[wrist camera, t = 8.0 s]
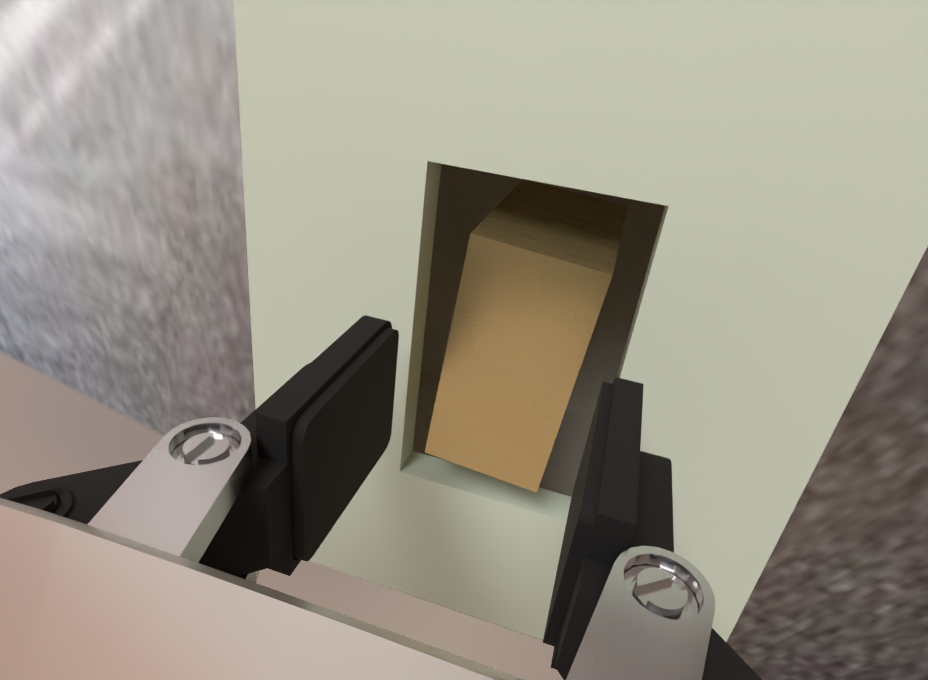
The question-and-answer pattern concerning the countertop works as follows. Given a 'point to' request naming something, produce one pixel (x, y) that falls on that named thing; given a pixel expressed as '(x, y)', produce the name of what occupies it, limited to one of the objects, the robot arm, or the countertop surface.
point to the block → (522, 329)
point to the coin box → (638, 259)
